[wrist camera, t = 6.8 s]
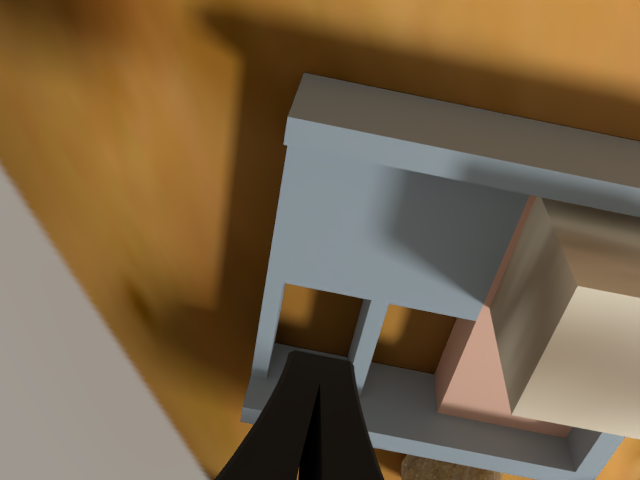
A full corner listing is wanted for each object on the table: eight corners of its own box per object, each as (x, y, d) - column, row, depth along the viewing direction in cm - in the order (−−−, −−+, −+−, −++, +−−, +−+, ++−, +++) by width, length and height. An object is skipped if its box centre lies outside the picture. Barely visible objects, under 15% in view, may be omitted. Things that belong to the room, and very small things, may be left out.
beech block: (622, 333, 20) (674, 446, 17) (489, 308, 20) (511, 414, 17) (690, 220, 18) (768, 323, 14) (538, 191, 18) (577, 286, 14)
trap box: (565, 414, 25) (588, 489, 23) (257, 354, 25) (240, 421, 22) (720, 157, 19) (780, 217, 16) (303, 72, 19) (287, 116, 16)
